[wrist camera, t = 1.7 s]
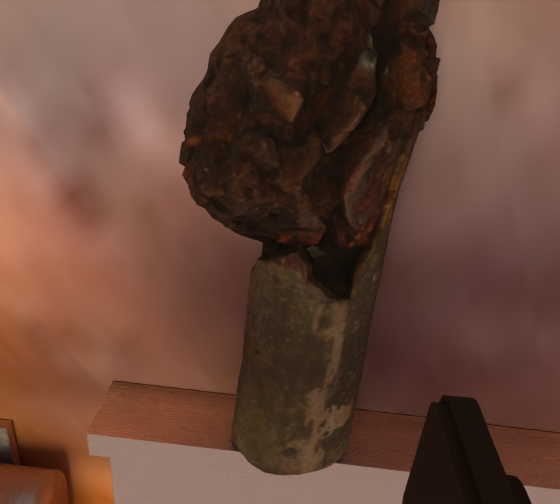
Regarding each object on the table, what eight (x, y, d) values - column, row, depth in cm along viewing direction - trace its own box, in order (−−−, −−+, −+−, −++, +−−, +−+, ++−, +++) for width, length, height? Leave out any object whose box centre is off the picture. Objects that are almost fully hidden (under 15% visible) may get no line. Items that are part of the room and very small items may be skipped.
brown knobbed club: (348, 399, 24) (353, 516, 19) (197, 379, 24) (162, 489, 19) (454, -65, 15) (515, -75, 10) (216, -93, 15) (161, -117, 10)
